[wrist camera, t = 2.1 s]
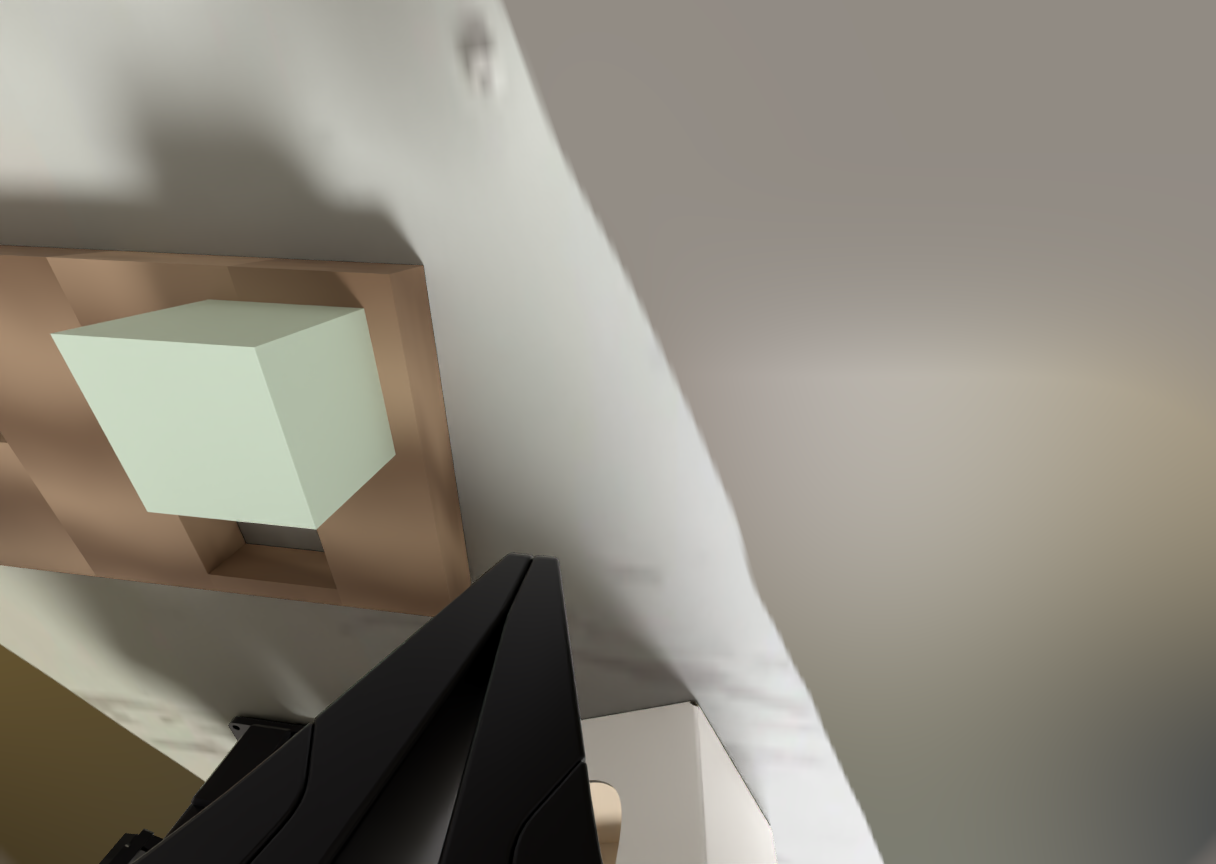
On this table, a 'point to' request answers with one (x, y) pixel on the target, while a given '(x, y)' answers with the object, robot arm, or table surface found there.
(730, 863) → the gable box
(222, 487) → the block
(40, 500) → the board
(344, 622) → the table surface
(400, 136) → the table surface
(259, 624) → the table surface
